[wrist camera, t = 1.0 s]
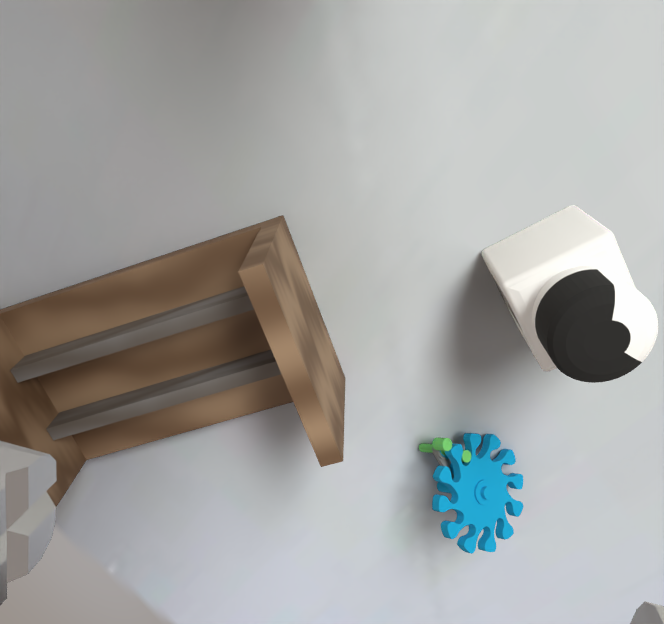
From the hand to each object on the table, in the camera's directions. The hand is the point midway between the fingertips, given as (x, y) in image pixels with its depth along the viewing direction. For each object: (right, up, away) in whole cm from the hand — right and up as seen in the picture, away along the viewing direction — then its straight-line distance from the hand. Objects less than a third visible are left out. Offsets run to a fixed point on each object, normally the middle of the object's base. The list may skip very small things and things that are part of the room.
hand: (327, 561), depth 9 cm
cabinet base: (-14, +1, +44) cm, 46 cm away
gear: (+12, -10, +48) cm, 50 cm away
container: (+17, +7, +40) cm, 44 cm away
